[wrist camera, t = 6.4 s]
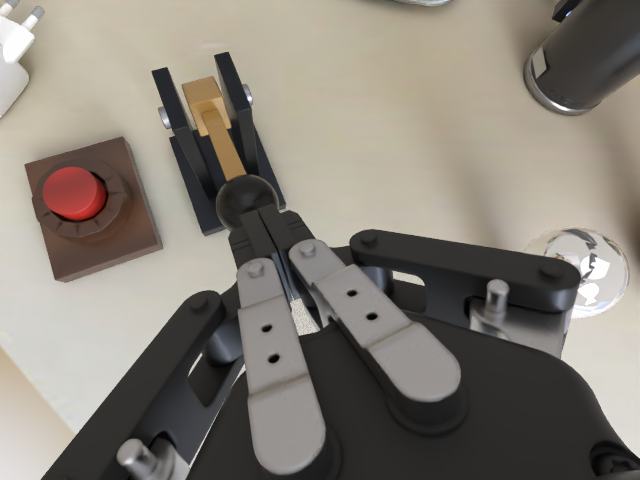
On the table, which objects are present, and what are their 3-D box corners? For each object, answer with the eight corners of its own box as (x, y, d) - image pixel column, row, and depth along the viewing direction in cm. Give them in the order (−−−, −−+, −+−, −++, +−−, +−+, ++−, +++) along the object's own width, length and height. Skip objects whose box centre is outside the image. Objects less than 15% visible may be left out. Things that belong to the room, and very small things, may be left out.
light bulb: (539, 324, 36) (665, 321, 24) (471, 317, 35) (565, 310, 24) (536, 254, 38) (650, 220, 26) (470, 247, 37) (558, 208, 25)
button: (112, 211, 31) (102, 204, 29) (61, 227, 30) (48, 221, 28) (99, 169, 32) (89, 160, 30) (49, 184, 31) (36, 175, 29)
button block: (163, 248, 34) (150, 239, 30) (65, 282, 32) (39, 276, 29) (129, 144, 36) (113, 124, 32) (35, 171, 34) (7, 153, 31)
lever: (291, 236, 20) (282, 194, 17) (233, 257, 19) (216, 216, 17) (230, 109, 27) (218, 67, 25) (187, 122, 27) (170, 80, 24)
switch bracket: (285, 208, 36) (290, 139, 23) (205, 236, 34) (161, 179, 22) (250, 120, 38) (236, 11, 25) (172, 143, 36) (114, 40, 23)
